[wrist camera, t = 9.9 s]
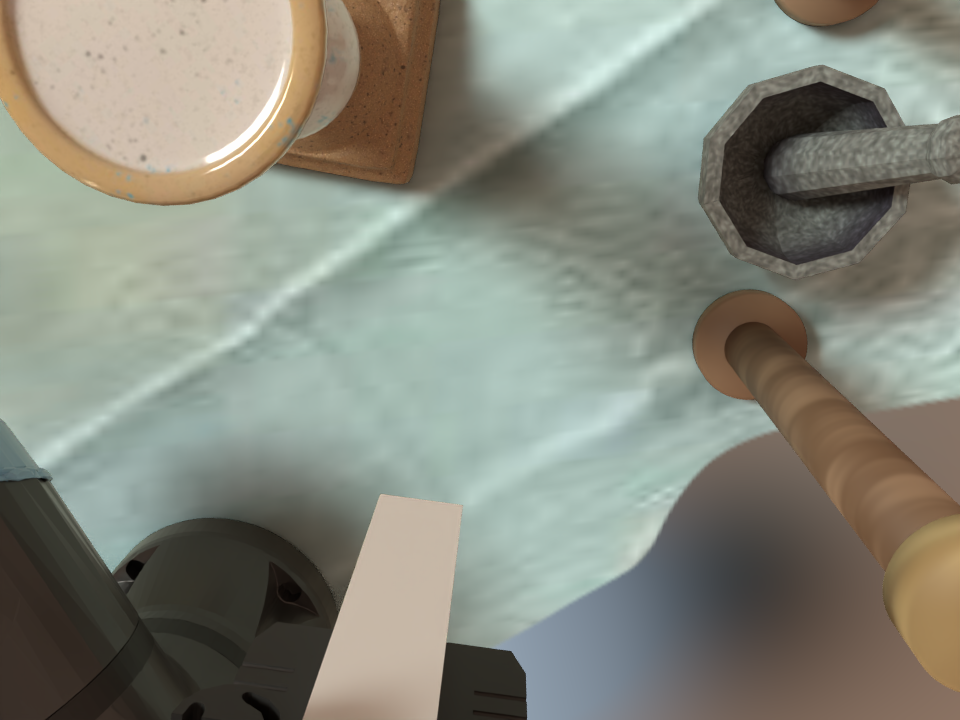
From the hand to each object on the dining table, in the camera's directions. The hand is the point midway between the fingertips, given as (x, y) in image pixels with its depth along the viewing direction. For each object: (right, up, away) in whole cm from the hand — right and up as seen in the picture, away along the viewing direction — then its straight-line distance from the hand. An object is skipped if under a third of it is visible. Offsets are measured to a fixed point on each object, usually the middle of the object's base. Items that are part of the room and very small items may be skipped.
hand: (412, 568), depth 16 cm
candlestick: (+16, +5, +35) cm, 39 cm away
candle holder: (-7, +20, +32) cm, 38 cm away
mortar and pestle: (+18, +14, +32) cm, 40 cm away
